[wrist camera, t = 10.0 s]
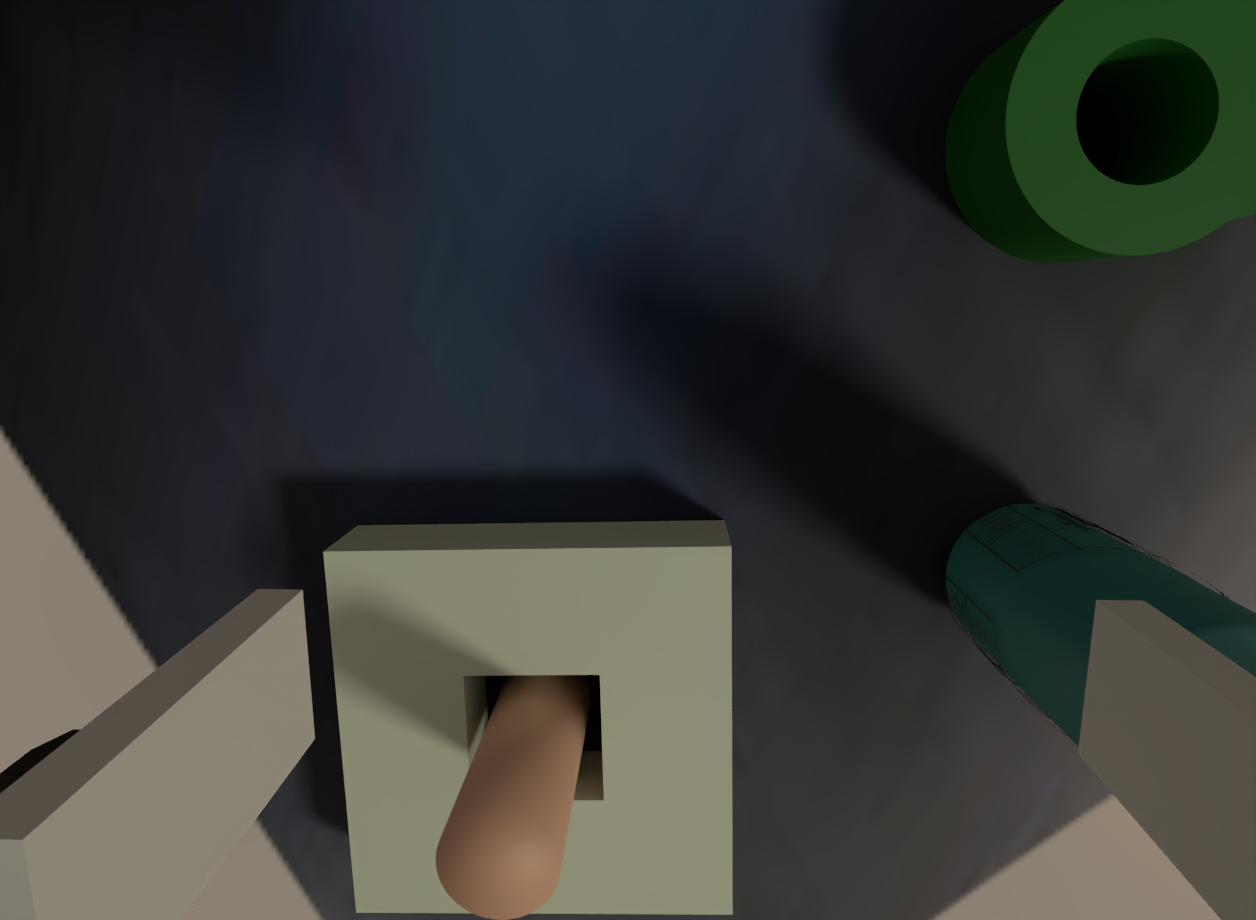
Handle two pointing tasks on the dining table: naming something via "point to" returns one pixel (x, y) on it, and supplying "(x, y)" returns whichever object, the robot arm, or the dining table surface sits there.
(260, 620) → the robot arm
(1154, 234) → the slotted cylinder bracket
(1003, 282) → the dining table surface
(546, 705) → the peg
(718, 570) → the socket board
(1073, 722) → the beverage bottle
